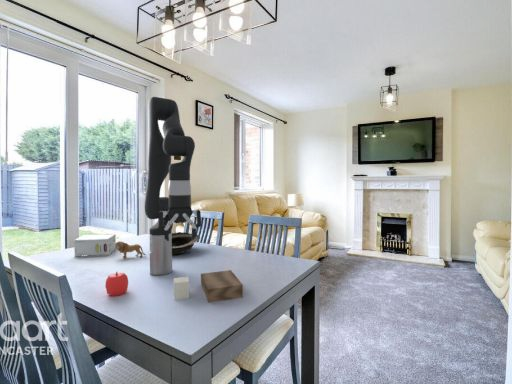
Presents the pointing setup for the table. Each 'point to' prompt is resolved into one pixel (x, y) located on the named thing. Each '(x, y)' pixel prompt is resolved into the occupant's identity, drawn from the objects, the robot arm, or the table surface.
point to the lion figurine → (128, 248)
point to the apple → (116, 284)
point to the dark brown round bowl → (182, 242)
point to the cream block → (181, 288)
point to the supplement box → (94, 245)
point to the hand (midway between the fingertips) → (180, 239)
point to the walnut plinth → (221, 286)
